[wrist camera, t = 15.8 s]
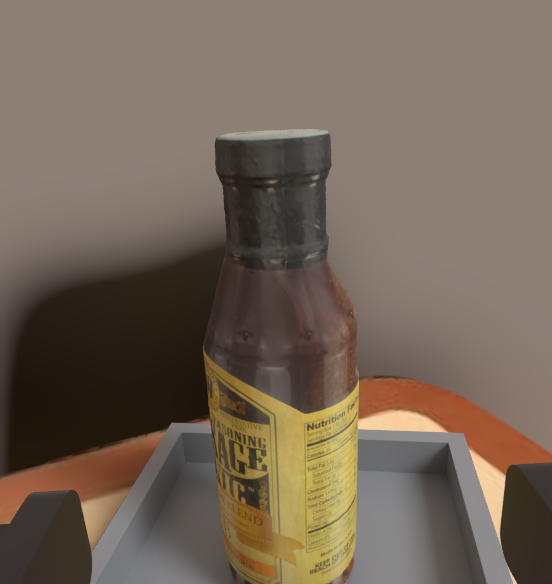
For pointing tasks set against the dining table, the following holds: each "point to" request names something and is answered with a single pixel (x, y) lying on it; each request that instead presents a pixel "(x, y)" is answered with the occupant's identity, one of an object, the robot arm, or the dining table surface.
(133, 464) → the dining table surface
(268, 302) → the sauce bottle
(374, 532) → the tray
